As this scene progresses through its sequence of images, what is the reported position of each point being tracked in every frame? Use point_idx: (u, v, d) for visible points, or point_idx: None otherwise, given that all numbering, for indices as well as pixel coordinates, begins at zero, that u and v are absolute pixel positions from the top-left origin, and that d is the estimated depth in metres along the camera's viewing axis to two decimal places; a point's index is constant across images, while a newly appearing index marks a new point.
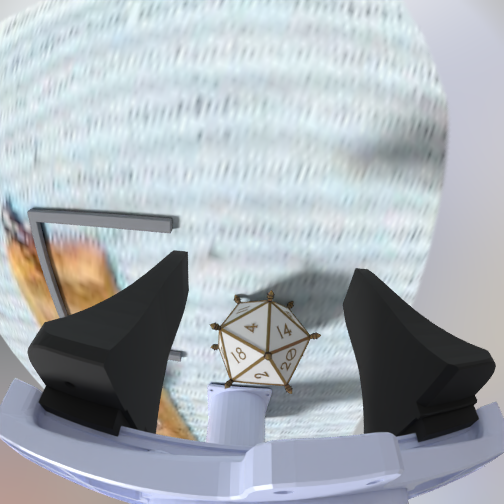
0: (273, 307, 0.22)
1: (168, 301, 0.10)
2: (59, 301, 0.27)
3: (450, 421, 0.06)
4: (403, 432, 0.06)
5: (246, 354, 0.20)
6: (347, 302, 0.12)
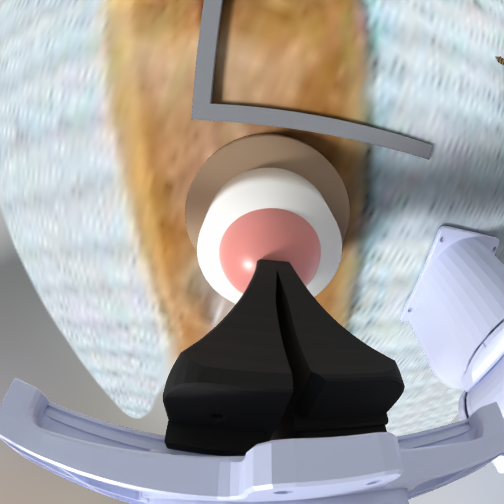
0: None
1: None
2: (219, 20, 0.12)
3: None
4: None
5: None
6: None
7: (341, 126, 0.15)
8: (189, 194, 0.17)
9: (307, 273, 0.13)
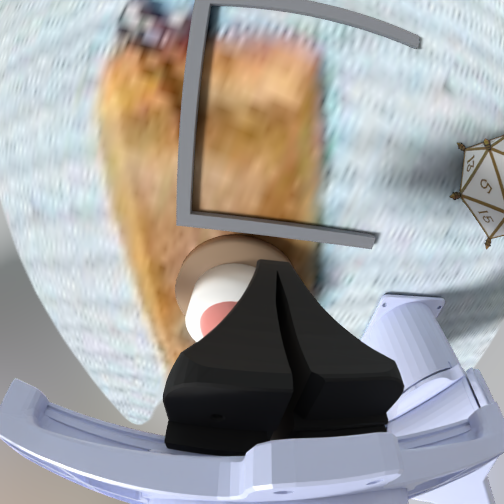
0: None
1: None
2: (194, 142, 0.18)
3: None
4: None
5: None
6: None
7: (293, 231, 0.21)
8: (177, 280, 0.22)
9: None
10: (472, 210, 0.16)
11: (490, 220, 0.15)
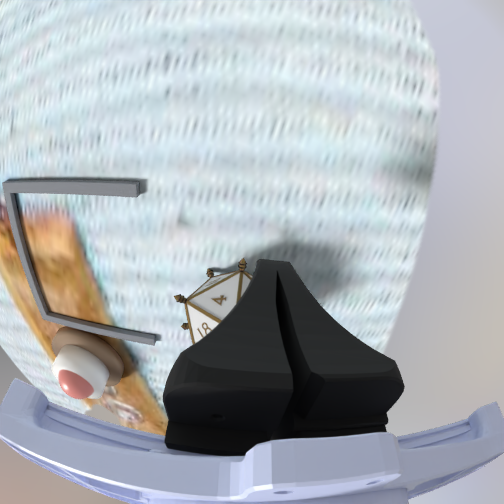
0: (245, 278, 0.19)
1: None
2: (33, 278, 0.24)
3: None
4: None
5: None
6: None
7: (98, 330, 0.27)
8: (52, 348, 0.29)
9: (83, 394, 0.26)
10: None
11: None
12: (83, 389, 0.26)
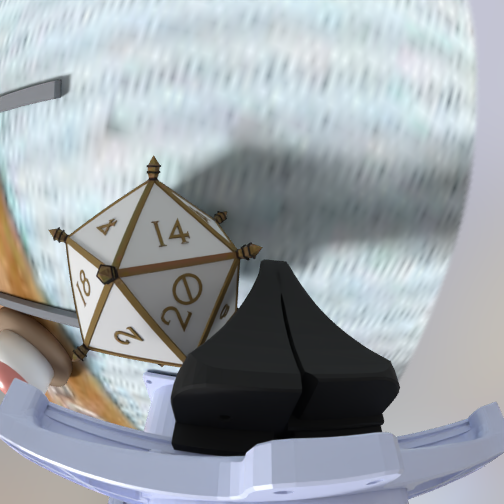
0: (157, 190, 0.10)
1: None
2: None
3: None
4: None
5: (90, 282, 0.09)
6: None
7: (31, 310, 0.18)
8: None
9: None
10: None
11: None
12: None
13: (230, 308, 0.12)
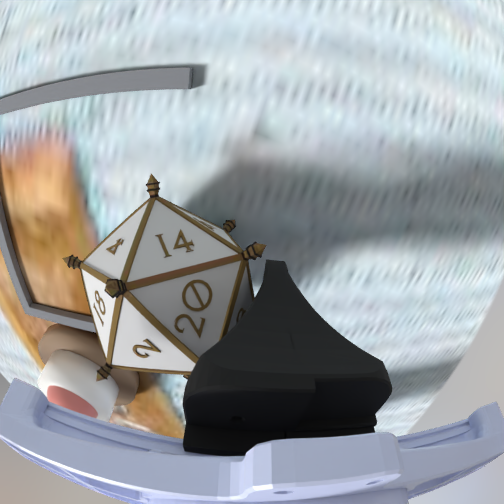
0: (158, 205, 0.10)
1: None
2: (10, 252, 0.16)
3: None
4: None
5: (104, 301, 0.09)
6: None
7: None
8: (40, 354, 0.20)
9: None
10: None
11: None
12: None
13: None
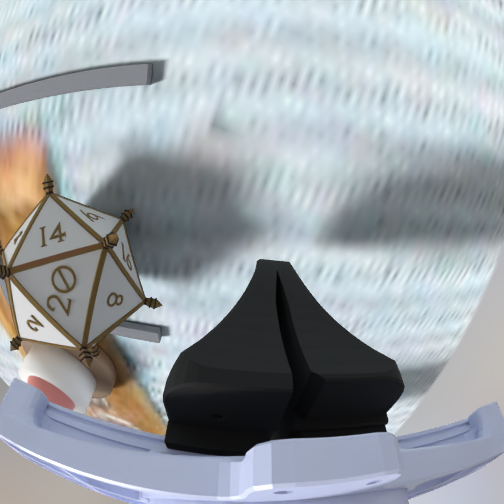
0: (50, 201, 0.10)
1: None
2: None
3: None
4: None
5: None
6: None
7: None
8: (23, 346, 0.20)
9: None
10: None
11: None
12: (59, 404, 0.17)
13: (128, 297, 0.12)
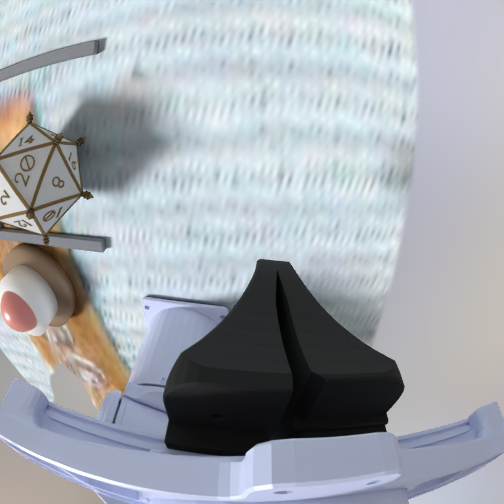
0: (29, 126, 0.14)
1: None
2: None
3: None
4: None
5: None
6: None
7: None
8: (4, 276, 0.23)
9: (22, 322, 0.20)
10: None
11: None
12: (22, 314, 0.20)
13: (68, 185, 0.15)
